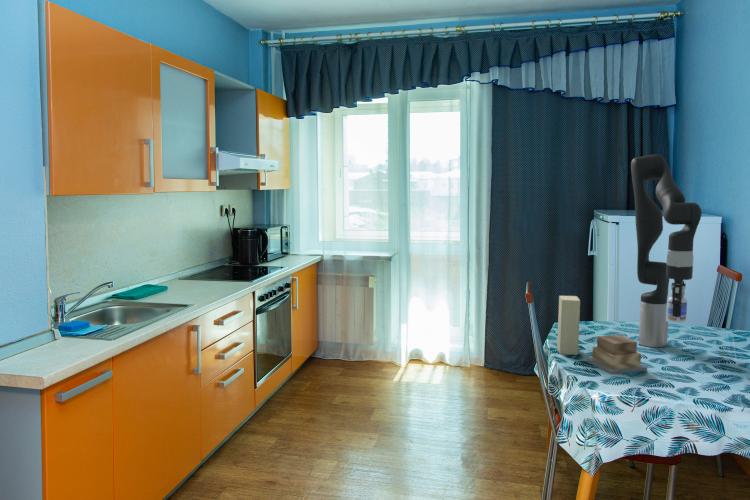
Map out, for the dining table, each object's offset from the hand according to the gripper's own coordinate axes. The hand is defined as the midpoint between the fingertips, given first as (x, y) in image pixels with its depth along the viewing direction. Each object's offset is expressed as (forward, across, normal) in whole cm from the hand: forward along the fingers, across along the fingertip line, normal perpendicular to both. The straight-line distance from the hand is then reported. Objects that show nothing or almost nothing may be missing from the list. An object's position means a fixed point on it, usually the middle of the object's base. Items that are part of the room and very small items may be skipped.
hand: (677, 314), depth 176 cm
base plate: (+21, +1, -18) cm, 27 cm away
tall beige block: (+21, -8, -36) cm, 42 cm away
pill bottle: (+2, 0, 0) cm, 2 cm away
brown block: (+19, +1, -18) cm, 26 cm away
